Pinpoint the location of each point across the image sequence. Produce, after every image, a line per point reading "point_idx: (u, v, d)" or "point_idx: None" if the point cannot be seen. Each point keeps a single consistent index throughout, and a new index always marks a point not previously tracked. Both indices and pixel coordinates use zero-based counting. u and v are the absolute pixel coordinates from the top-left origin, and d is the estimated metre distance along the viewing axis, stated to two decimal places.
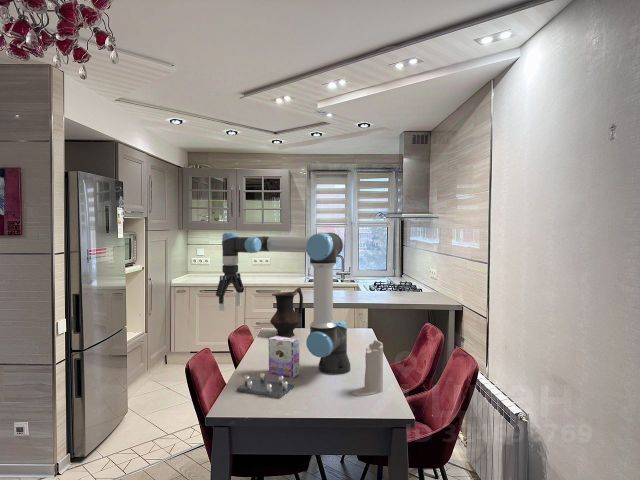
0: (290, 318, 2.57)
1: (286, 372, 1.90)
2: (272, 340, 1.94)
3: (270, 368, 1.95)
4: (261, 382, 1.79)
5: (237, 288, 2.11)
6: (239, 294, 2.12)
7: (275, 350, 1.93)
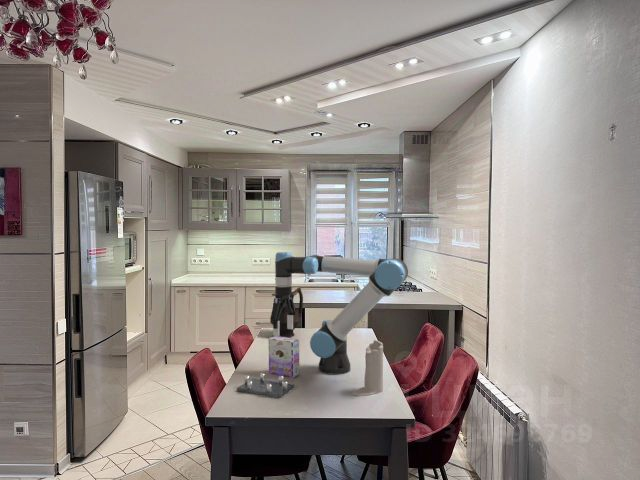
0: None
1: (286, 372, 1.90)
2: (272, 340, 1.94)
3: (270, 368, 1.95)
4: (261, 382, 1.79)
5: (289, 310, 1.98)
6: (291, 317, 1.99)
7: (275, 350, 1.93)
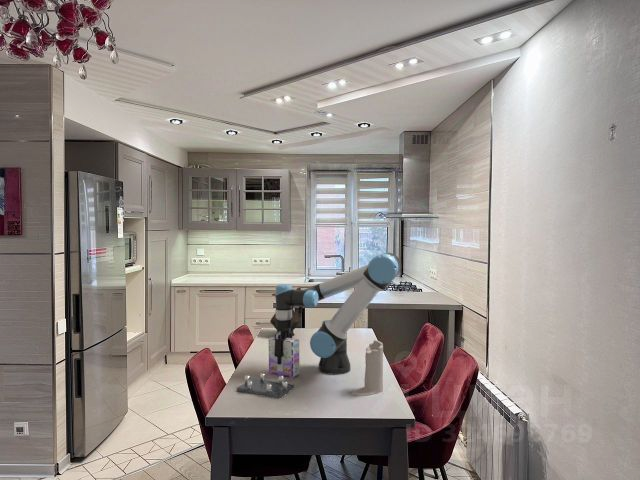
0: None
1: (286, 372, 1.90)
2: (272, 340, 1.94)
3: (270, 368, 1.95)
4: (261, 382, 1.79)
5: None
6: None
7: None
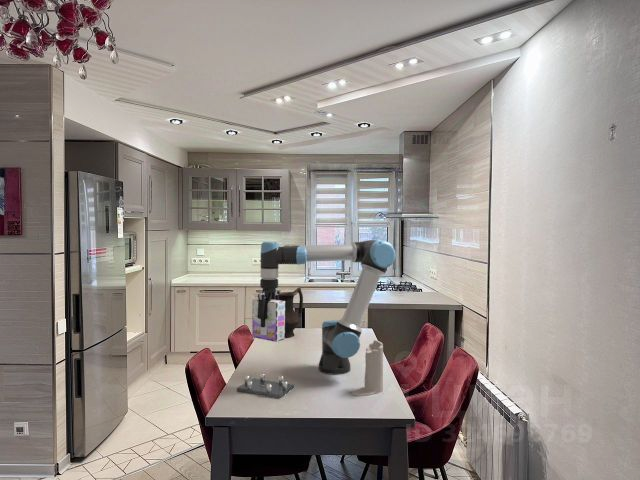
0: (290, 318, 2.57)
1: (270, 336, 1.75)
2: (256, 301, 1.79)
3: (253, 332, 1.80)
4: (261, 382, 1.79)
5: None
6: None
7: None
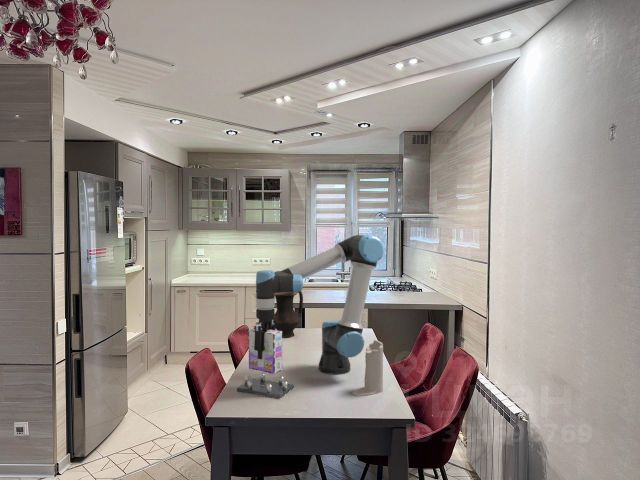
0: (290, 318, 2.57)
1: (267, 367, 1.70)
2: (252, 332, 1.74)
3: (250, 363, 1.75)
4: (261, 382, 1.79)
5: None
6: None
7: None
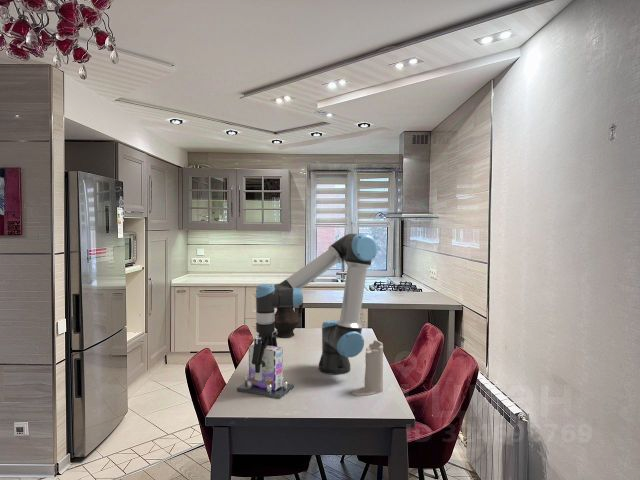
0: (290, 318, 2.57)
1: None
2: (252, 348, 1.75)
3: (250, 379, 1.75)
4: None
5: None
6: None
7: None
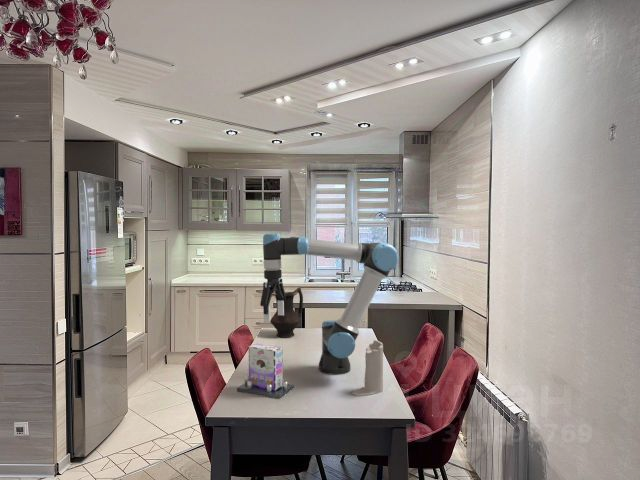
0: (290, 318, 2.57)
1: None
2: (252, 348, 1.75)
3: (250, 379, 1.75)
4: None
5: (279, 296, 1.88)
6: (282, 302, 1.89)
7: (255, 360, 1.74)
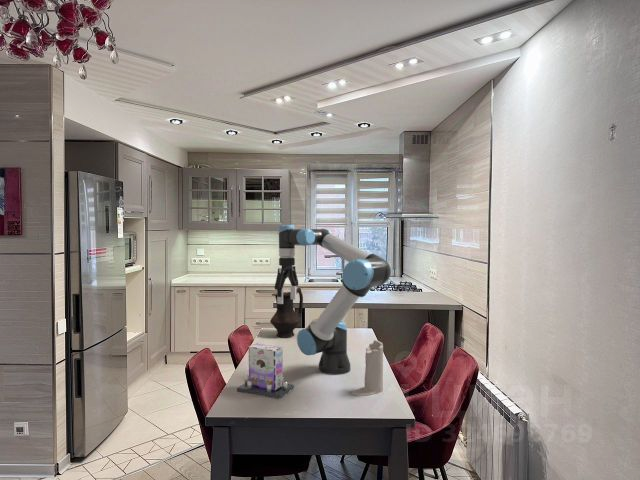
0: (290, 318, 2.57)
1: None
2: (252, 348, 1.75)
3: (250, 379, 1.75)
4: None
5: (292, 281, 2.08)
6: (294, 288, 2.08)
7: (255, 360, 1.74)
